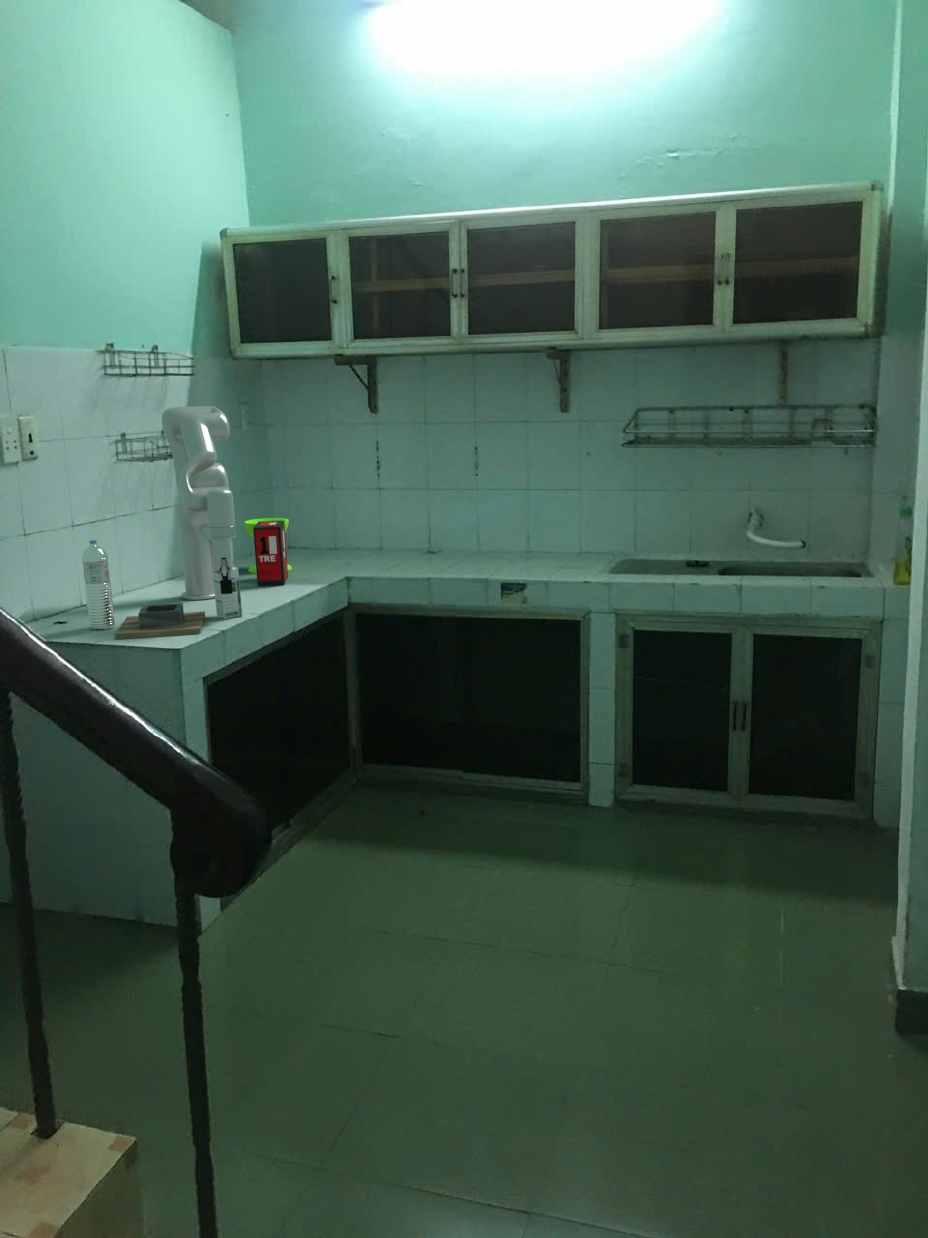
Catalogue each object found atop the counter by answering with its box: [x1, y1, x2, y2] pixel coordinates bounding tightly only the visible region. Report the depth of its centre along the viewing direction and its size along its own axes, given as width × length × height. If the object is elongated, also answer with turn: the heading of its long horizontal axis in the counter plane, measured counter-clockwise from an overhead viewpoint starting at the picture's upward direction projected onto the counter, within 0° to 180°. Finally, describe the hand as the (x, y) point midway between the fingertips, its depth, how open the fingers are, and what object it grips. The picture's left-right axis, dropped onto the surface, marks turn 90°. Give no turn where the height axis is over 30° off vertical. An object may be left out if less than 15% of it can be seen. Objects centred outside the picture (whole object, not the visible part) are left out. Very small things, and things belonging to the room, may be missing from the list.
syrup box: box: [212, 565, 243, 620], centre depth 294 cm, size 6×6×14 cm
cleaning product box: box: [253, 521, 289, 588], centre depth 345 cm, size 16×9×20 cm, turn 5°
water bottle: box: [81, 539, 116, 631], centre depth 282 cm, size 7×7×25 cm
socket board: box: [115, 602, 206, 640], centre depth 283 cm, size 22×22×6 cm
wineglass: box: [244, 517, 293, 574], centre depth 369 cm, size 16×16×18 cm
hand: (227, 590), depth 293 cm, fingers open, 9 cm apart
